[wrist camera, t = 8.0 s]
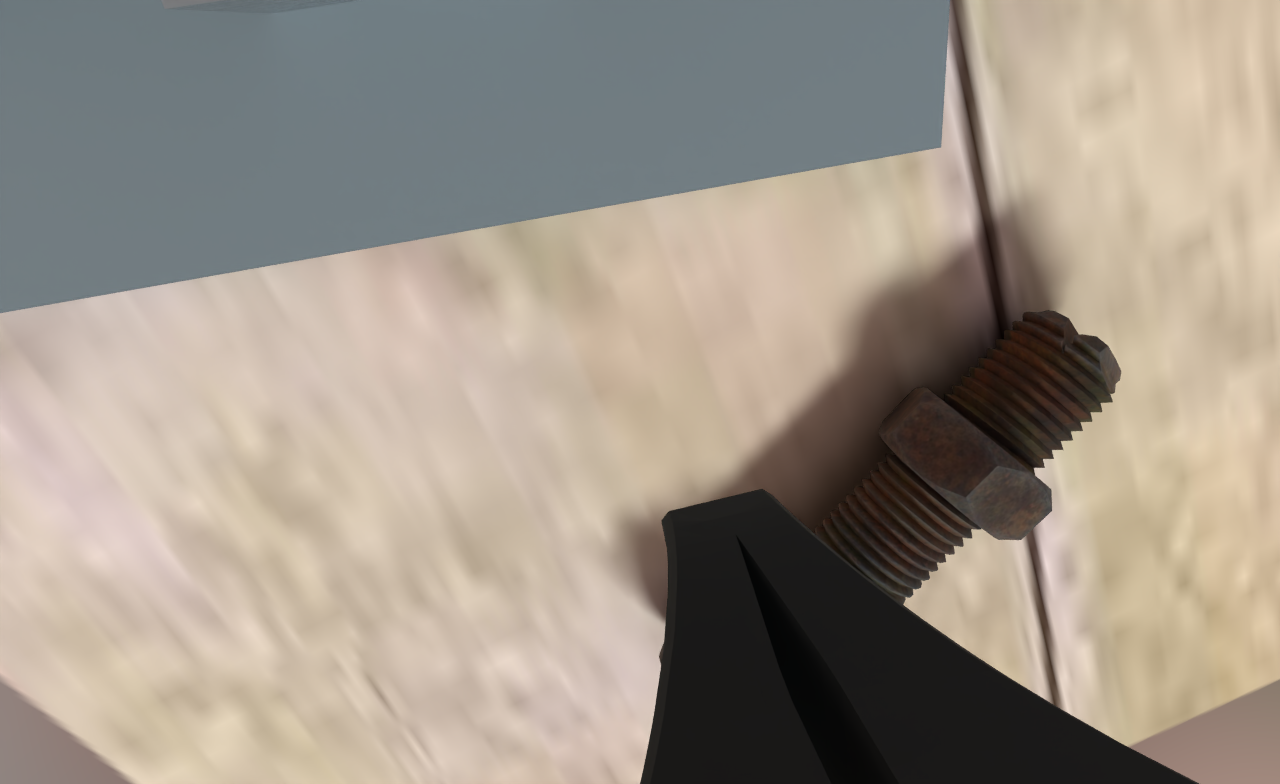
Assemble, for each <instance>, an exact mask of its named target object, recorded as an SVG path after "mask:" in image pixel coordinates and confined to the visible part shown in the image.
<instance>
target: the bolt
mask: <svg viewBox="0 0 1280 784" xmlns="http://www.w3.org/2000/svg"><path fill="white" fill-rule="evenodd" d="M1012 325H1013V330H1005V331H1004V337H1005V340H1004V339H998V340H996V349H991V348H988V349H987V358H979V359H978V364H979V368H977V367H969V370H970V377H969V376H961V385H962V386H958V385H952V389H953V395H952V394H944V397H945V402H944V401H943V400H942V399H940V398H939V397H938V396H937V395H935V394H934V393H933V392H931V391H930V390H929V389H927V388H926V387H921V388H917V389H914V390H913V391H912V392H911V393H910V394H909V395H908V396H907V397H906V398H905V399H904V400H903V401H902V402H901V403H900V404H899V405H898V406H897V407H896V408H895V409H894V410H893V412H892V413H891V414H890V415H889V416H888V417H887V418H886V419H885V420H884V421H883V422H882V424H881V426H880V431H879V435H880V437H881V439H882V440H883V441H884V442H885V443H886V445H887V446H888V447H889V448H890V449H891V450H892V451H893V452H894V453H895V455H892V454H886V458H887V463H880V462H878V466H879V471H870V474H871V479H862V482H863V487H857V486H855V487H854V492H855V495H850V494H847V497H846V500H847V503H845V502H841V503H839V504H838V506H839V510H840V511H839V510H833V511H831V517H832V519H830V518H824V519H823V525H824V527H822V526H817V527H816V529H815V533H816V534H815V535H816V536H818V537H819V538H820V539H821V540H822V541H823V542H825V543H826V544H827V545H828V546H829V547H830V548H832V549H833V550H834V551H835V552H836V553H838V554H839V555H840V556H841V557H842V558H844V559H845V560H846V561H847V562H849V563H850V564H851V565H852V566H853V567H855V568H856V569H857V570H859V571H860V572H861V573H862V574H864V575H865V576H866V577H867V578H869V579H870V580H871V581H873V582H874V583H875V584H876V585H878V586H879V587H880V588H882V589H883V590H884V591H885V592H887V593H888V594H889V595H890V596H892V597H893V598H894V599H896V600H897V601H898V602H900V603H901V604H902V605H903V604H904V602H905V600H906V599H905V597H909V598H910V597H911V596H912V595H913V589H919V588H921V585H922V583H921V580H923V581H925V580H929V579H930V576H929V571H931V572H933V571H937V570H938V567H937V562H939V563H943V562H946V559H945V554H949V555H951V554H954V553H955V552H954V546H960V547H963V539H962V537H963V538H972V533H971V529H981V528H982V529H983V530H985V531H986V532H988V533H989V534H990V535H992V536H993V537H995V538H996V539H998V540H1021V539H1022V538H1023V537H1025V536H1026V535H1027V534H1028V533H1029V532H1030V531H1031V530H1032V529H1033V528H1034V527H1035V526H1036V525H1037V524H1038V523H1039V522H1041V521H1042V520H1043V519H1044V518H1045V517H1046V516H1047V515H1048V514H1049V513H1050V512H1051V511H1052V497H1051V489H1050V488H1049V487H1048V486H1047V485H1046V484H1044V483H1043V482H1042V481H1041V480H1040V479H1038V478H1037V477H1036V476H1035V473H1034V468H1045V467H1044V463H1043V459H1054V457H1053V454H1052V450H1063V447H1062V444H1061V441H1069V440H1073V439H1072V435H1071V431H1083V429H1082V426H1081V423H1080V422H1092V417H1091V413H1090V412H1102V408H1101V404H1100V403H1107V402H1113V401H1112V398H1111V395H1110V394H1113V393H1115V384H1116V383H1117V382H1118V381H1119V380H1120V376H1121V370H1120V368H1119V365H1118V363H1117V361H1116V359H1115V357H1114V355H1113V354H1112V352H1111V350H1110V348H1109V347H1108V346H1107V345H1106V344H1105V343H1104V342H1103V341H1101V340H1100V339H1099V338H1098V337H1096V336H1089V335H1079V334H1078V333H1077V331H1076V329H1075V328H1074V326H1073V324H1072V323H1071V321H1070V320H1069V318H1067V317H1065V316H1063V315H1061V314H1059V313H1057V312H1055V311H1049V310H1048V311H1043V312H1025V313H1024V314H1023V321H1015V322H1013V324H1012ZM663 649H664V644H663V646H662V649H661V652H660V655H659V658H660V662H661V665H662V658H663Z"/></svg>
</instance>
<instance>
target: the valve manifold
mask: <svg viewBox="0 0 1280 784" xmlns="http://www.w3.org/2000/svg"><path fill="white" fill-rule="evenodd" d="M161 1H162V3H163V6H164V8H165V9H176V10H198V11H221V12H244V13H267V14H273V13H280V12H287V11H293V10H300V9H307V8H313V7H320V6H327V5H333V4H340V3H347V2H353V1H360V0H161Z"/></svg>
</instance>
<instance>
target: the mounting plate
mask: <svg viewBox="0 0 1280 784" xmlns="http://www.w3.org/2000/svg"><path fill="white" fill-rule="evenodd" d="M949 7H950V0H360V1H353V2H347V3H340V4H333V5H327V6H320V7H313V8H307V9H300V10H293V11H287V12H280V13H273V14H267V13H244V12H221V11H198V10H176V9H165V8H164V6H163V3H162V1H161V0H0V313H3V312H9V311H15V310H20V309H26V308H32V307H37V306H43V305H49V304H55V303H60V302H66V301H72V300H77V299H83V298H89V297H94V296H100V295H106V294H111V293H117V292H123V291H128V290H134V289H140V288H145V287H151V286H157V285H162V284H168V283H174V282H179V281H185V280H191V279H196V278H202V277H208V276H213V275H219V274H225V273H230V272H236V271H242V270H247V269H253V268H259V267H265V266H270V265H276V264H282V263H287V262H293V261H299V260H304V259H310V258H316V257H321V256H327V255H333V254H338V253H344V252H350V251H355V250H361V249H367V248H372V247H378V246H384V245H389V244H395V243H401V242H406V241H412V240H418V239H423V238H429V237H435V236H440V235H446V234H452V233H458V232H463V231H469V230H475V229H480V228H486V227H492V226H497V225H503V224H509V223H514V222H520V221H526V220H531V219H537V218H543V217H548V216H554V215H560V214H565V213H571V212H577V211H582V210H588V209H594V208H599V207H605V206H611V205H616V204H622V203H628V202H633V201H639V200H645V199H650V198H656V197H662V196H668V195H673V194H679V193H685V192H690V191H696V190H702V189H707V188H713V187H719V186H724V185H730V184H736V183H741V182H747V181H753V180H758V179H764V178H770V177H775V176H781V175H787V174H792V173H798V172H804V171H809V170H815V169H821V168H826V167H832V166H838V165H843V164H849V163H855V162H860V161H866V160H872V159H878V158H883V157H889V156H895V155H900V154H906V153H912V152H917V151H923V150H929V149H934V148H940V147H941V139H942V123H943V106H944V90H945V73H946V57H947V40H948V23H949Z"/></svg>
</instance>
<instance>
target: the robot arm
mask: <svg viewBox="0 0 1280 784" xmlns="http://www.w3.org/2000/svg"><path fill="white" fill-rule="evenodd" d="M662 526H663V531H664V536H665V541H666V546H667V554H668V599H667V612H666V626H665V640H664V649H663V658H662V665H661V671H660V678H659V685H658V692H657V698H656V705H655V712H654V718H653V724H652V729H651V734H650V739H649V745H648V750H647V755H646V759H645V764H644V769H643V773H642V778H641V782H640V784H1199V783H1197V782H1195V781H1193V780H1191V779H1189V778H1187V777H1185V776H1183V775H1181V774H1179V773H1177V772H1175V771H1174V770H1172V769H1170V768H1168V767H1166V766H1164V765H1162V764H1160V763H1158V762H1156V761H1154V760H1152V759H1150V758H1148V757H1146V756H1144V755H1143V754H1140V753H1139V752H1137V751H1135V750H1132V749H1131V748H1129V747H1127V746H1125V745H1123V744H1121V743H1119V742H1118V741H1116V740H1114V739H1112V738H1111V737H1109V736H1107V735H1105V734H1103V733H1102V732H1100V731H1098V730H1096V729H1095V728H1093V727H1091V726H1089V725H1088V724H1086V723H1084V722H1082V721H1081V720H1079V719H1077V718H1075V717H1074V716H1072V715H1070V714H1068V713H1067V712H1065V711H1063V710H1061V709H1060V708H1058V707H1056V706H1055V705H1053V704H1051V703H1050V702H1048V701H1046V700H1045V699H1043V698H1041V697H1040V696H1038V695H1037V694H1035V693H1033V692H1032V691H1030V690H1028V689H1027V688H1025V687H1023V686H1022V685H1020V684H1018V683H1017V682H1015V681H1014V680H1012V679H1010V678H1009V677H1007V676H1006V675H1004V674H1002V673H1001V672H999V671H998V670H996V669H995V668H993V667H992V666H990V665H988V664H987V663H985V662H984V661H982V660H981V659H979V658H978V657H976V656H975V655H973V654H972V653H970V652H969V651H967V650H966V649H964V648H963V647H961V646H960V645H958V644H957V643H956V642H954V641H953V640H951V639H950V638H948V637H947V636H946V635H944V634H943V633H941V632H940V631H938V630H937V629H936V628H934V627H933V626H931V625H930V624H928V623H927V622H926V621H924V620H923V619H921V618H920V617H919V616H917V615H916V614H915V613H913V612H912V611H911V610H909V609H908V608H906V607H905V606H904V605H902V604H901V603H900V602H898V601H897V600H896V599H894V598H893V597H892V596H890V595H889V594H888V593H887V592H885V591H884V590H883V589H882V588H880V587H879V586H878V585H876V584H875V583H874V582H873V581H871V580H870V579H869V578H867V577H866V576H865V575H864V574H862V573H861V572H860V571H859V570H857V569H856V568H855V567H853V566H852V565H851V564H850V563H849V562H847V561H846V560H845V559H844V558H842V557H841V556H840V555H839V554H838V553H836V552H835V551H834V550H833V549H832V548H830V547H829V546H828V545H827V544H826V543H825V542H823V541H822V540H821V539H820V538H819V537H818V536H816V535H815V534H814V533H813V532H812V531H811V530H810V529H808V528H807V527H806V526H805V525H804V524H803V523H802V522H801V521H799V520H798V519H797V518H796V517H795V516H794V515H793V514H792V513H791V512H790V511H789V510H787V509H786V508H785V507H784V506H783V505H782V504H781V503H780V502H779V501H778V500H777V499H776V498H775V497H774V496H773V495H771V494H770V493H768V492H767V491H765V490H763V489H760V490H756V491H751V492H747V493H743V494H739V495H735V496H731V497H726V498H722V499H718V500H714V501H710V502H706V503H701V504H697V505H693V506H689V507H685V508H681V509H676V510H672V511H669V512H668V513H667V514H666V516H665V517H664V518H663V519H662Z"/></svg>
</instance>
